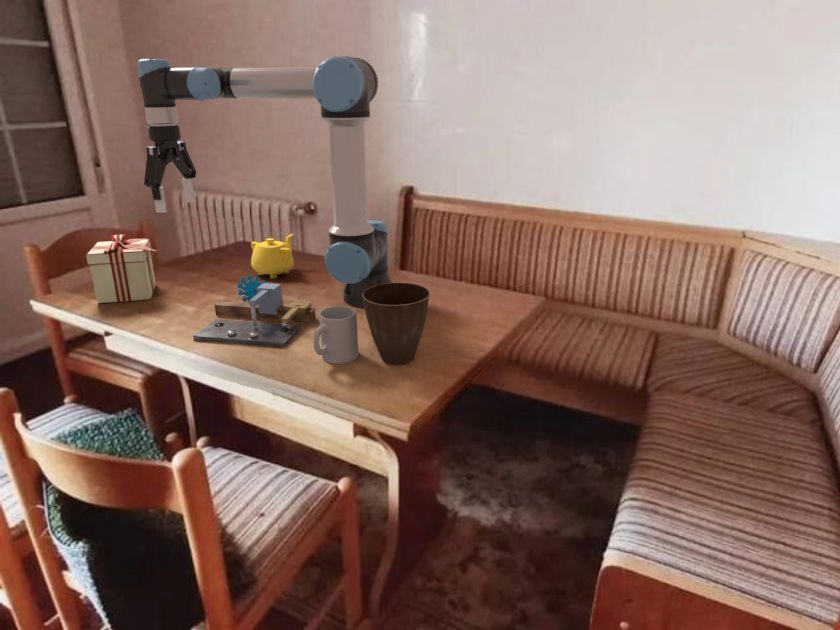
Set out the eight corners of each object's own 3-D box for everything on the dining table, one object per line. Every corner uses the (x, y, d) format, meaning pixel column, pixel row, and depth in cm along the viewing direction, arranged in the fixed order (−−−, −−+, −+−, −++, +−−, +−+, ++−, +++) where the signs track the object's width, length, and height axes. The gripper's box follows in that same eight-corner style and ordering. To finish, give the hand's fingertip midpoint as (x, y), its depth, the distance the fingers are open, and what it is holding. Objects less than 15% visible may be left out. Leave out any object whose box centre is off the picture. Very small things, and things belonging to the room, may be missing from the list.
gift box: (166, 297, 173) (155, 241, 166) (96, 306, 167) (83, 248, 160) (166, 280, 187) (157, 228, 181) (102, 288, 181) (90, 234, 175)
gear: (245, 306, 162) (233, 275, 164) (238, 316, 166) (227, 286, 169) (280, 301, 169) (269, 272, 172) (273, 311, 173) (262, 282, 176)
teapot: (298, 278, 189) (295, 242, 185) (252, 281, 186) (248, 245, 182) (295, 265, 202) (293, 232, 197) (253, 268, 199) (249, 234, 194)
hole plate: (301, 329, 150) (301, 322, 149) (284, 347, 140) (283, 340, 139) (216, 323, 154) (215, 316, 154) (193, 340, 144) (192, 332, 144)
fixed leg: (311, 310, 158) (310, 302, 157) (293, 329, 146) (292, 320, 145) (294, 309, 159) (293, 300, 158) (274, 328, 147) (273, 318, 146)
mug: (339, 345, 141) (336, 303, 137) (366, 354, 137) (364, 310, 133) (303, 363, 132) (299, 319, 128) (330, 373, 128) (327, 327, 124)
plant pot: (351, 362, 133) (348, 296, 127) (390, 339, 144) (388, 278, 138) (405, 379, 125) (404, 310, 119) (441, 353, 137) (442, 289, 131)
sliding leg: (283, 309, 159) (281, 283, 156) (263, 327, 147) (260, 300, 145) (266, 307, 160) (263, 282, 157) (245, 325, 148) (241, 299, 146)
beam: (315, 318, 157) (315, 308, 156) (312, 322, 155) (311, 311, 154) (220, 311, 162) (218, 301, 161) (215, 315, 160) (214, 304, 159)
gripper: (177, 121, 161) (189, 197, 169) (118, 128, 139) (134, 216, 147) (202, 121, 160) (213, 198, 168) (146, 128, 137) (161, 217, 145)
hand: (176, 207), depth 158 cm, fingers open, 13 cm apart
